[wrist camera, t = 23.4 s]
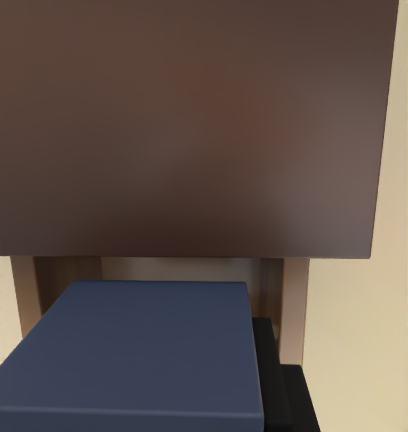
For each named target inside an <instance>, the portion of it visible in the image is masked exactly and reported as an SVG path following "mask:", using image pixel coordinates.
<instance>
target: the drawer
mask: <svg viewBox="0 0 408 432" xmlns="http://www.w3.org/2000/svg"><path fill="white" fill-rule="evenodd" d="M10 259H11V265H12V272H13V278H14V285H15V292H16V298H17V305H18V311H19V318H20V324H21V331H22V337H23V338H24V337H25V336H26V335H27V334H28V333H29V331H30V330H31V329H32V328H33V327H34V326H35V325H36V323H37V322H38V321H39V320H40V319H41V318H42V316H43V315H44V314H45V313H46V312H47V311H48V309H49V308H50V307H51V306H52V305H53V304H54V302H55V301H56V300H57V299H58V298H59V297H60V296H61V294H62V293H63V292H64V291H65V290H66V289H67V287H68V286H69V285H70V284H71V283H72V282H73V280H144V281H225V282H246V283H247V287H248V295H249V303H250V310H251V318H252V317H264V318H271V322H272V327H273V332H274V336H275V341H276V346H277V350H278V355H279V359H280V364H300V365H301V367H302V365H303V350H304V335H305V320H306V305H307V290H308V275H309V260H310V258H201V257H68V256H10Z"/></svg>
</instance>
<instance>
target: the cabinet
mask: <svg viewBox="0 0 408 432" xmlns="http://www.w3.org/2000/svg"><path fill="white" fill-rule="evenodd" d="M398 4H399V0H0V256H68V257H201V258H335V259H369V258H370V256H371V247H372V238H373V229H374V220H375V211H376V202H377V193H378V184H379V175H380V166H381V157H382V148H383V139H384V130H385V121H386V112H387V103H388V94H389V85H390V76H391V67H392V58H393V49H394V40H395V31H396V22H397V13H398Z"/></svg>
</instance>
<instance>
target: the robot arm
mask: <svg viewBox="0 0 408 432" xmlns="http://www.w3.org/2000/svg"><path fill="white" fill-rule="evenodd" d="M252 326H253V334H254V341H255V349H256V357H257V365H258V372H259V380H260V388H261V396H262V403H263V411H264V432H321V431H320V428H319V425H318V421H317V418H316V414H315V411H314V408H313V404H312V401H311V397H310V394H309V391H308V387H307V384H306V380H305V377H304V374H303V370H302V367H301V365H300V364H280V359H279V355H278V350H277V346H276V341H275V336H274V332H273V327H272V322H271V318H264V317H252Z"/></svg>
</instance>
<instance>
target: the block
mask: <svg viewBox="0 0 408 432" xmlns="http://www.w3.org/2000/svg"><path fill="white" fill-rule="evenodd" d="M0 432H264V411H263V403H262V396H261V388H260V380H259V372H258V365H257V357H256V349H255V341H254V334H253V326H252V318H251V310H250V303H249V295H248V287H247V283H246V282H225V281H144V280H73V282H72V283H71V284H70V285H69V286H68V287H67V289H66V290H65V291H64V292H63V293H62V294H61V296H60V297H59V298H58V299H57V300H56V301H55V302H54V304H53V305H52V306H51V307H50V308H49V309H48V311H47V312H46V313H45V314H44V315H43V316H42V318H41V319H40V320H39V321H38V322H37V323H36V325H35V326H34V327H33V328H32V329H31V330H30V331H29V333H28V334H27V335H26V336H25V337H24V338H23V340H22V341H21V342H20V343H19V344H18V345H17V347H16V348H15V349H14V350H13V351H12V352H11V354H10V355H9V356H8V357H7V358H6V359H5V360H4V362H3V363H2V364H1V365H0Z"/></svg>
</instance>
